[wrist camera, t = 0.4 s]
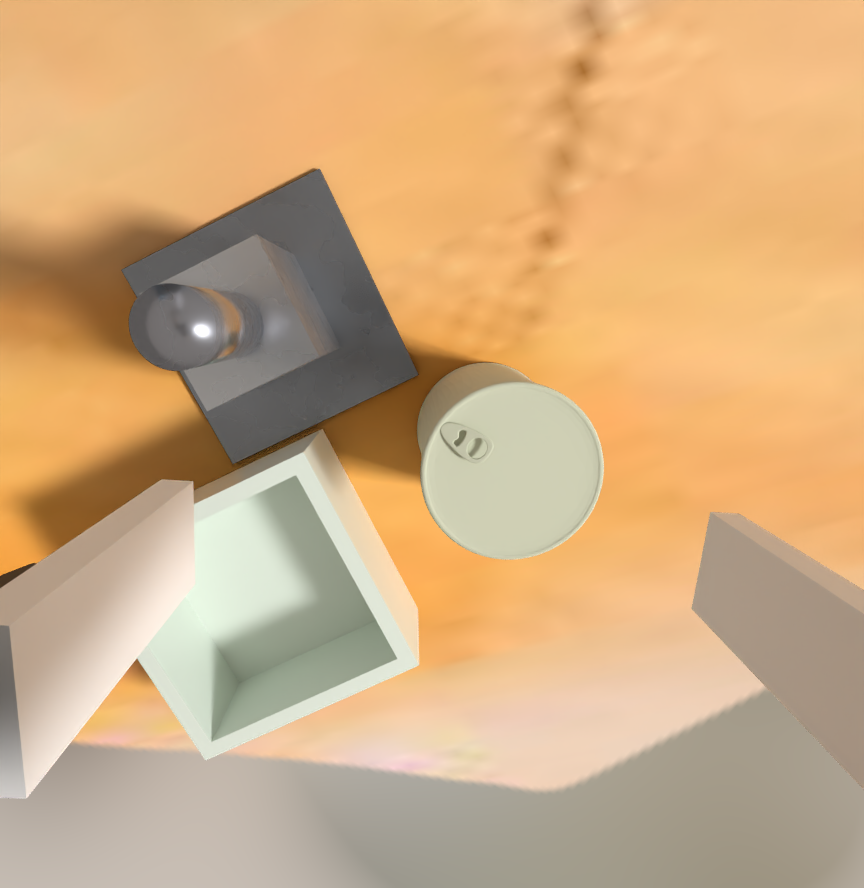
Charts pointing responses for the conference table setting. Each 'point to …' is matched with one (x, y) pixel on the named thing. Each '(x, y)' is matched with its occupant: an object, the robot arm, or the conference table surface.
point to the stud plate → (339, 295)
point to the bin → (281, 602)
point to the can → (506, 462)
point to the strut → (233, 321)
